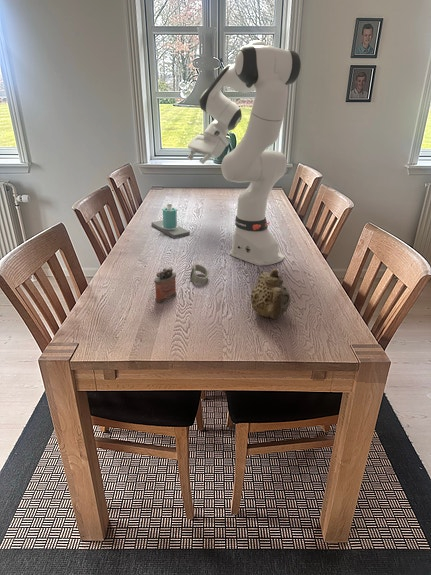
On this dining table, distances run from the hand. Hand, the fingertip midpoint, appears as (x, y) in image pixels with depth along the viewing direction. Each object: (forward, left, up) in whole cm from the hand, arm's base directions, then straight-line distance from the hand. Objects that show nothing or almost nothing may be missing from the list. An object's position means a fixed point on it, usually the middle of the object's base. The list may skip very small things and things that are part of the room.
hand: (195, 160), depth 180 cm
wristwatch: (-49, +31, -30) cm, 65 cm away
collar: (0, +13, -28) cm, 31 cm away
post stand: (0, +13, -29) cm, 32 cm away
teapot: (-80, +27, -30) cm, 90 cm away
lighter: (-54, +47, -30) cm, 78 cm away
